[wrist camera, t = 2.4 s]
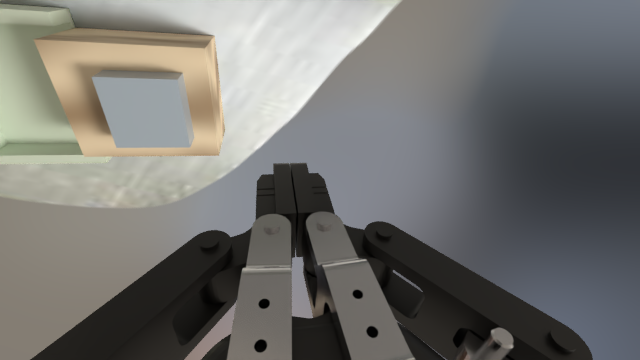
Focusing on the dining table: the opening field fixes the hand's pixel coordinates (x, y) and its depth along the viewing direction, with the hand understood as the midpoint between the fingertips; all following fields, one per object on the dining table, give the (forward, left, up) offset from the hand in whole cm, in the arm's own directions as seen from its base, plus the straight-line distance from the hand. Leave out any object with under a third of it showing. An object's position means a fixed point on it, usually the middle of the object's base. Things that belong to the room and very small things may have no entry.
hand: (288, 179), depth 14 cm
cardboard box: (+3, -12, -22) cm, 25 cm away
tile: (+3, -11, -16) cm, 19 cm away
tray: (+3, -23, -22) cm, 32 cm away
